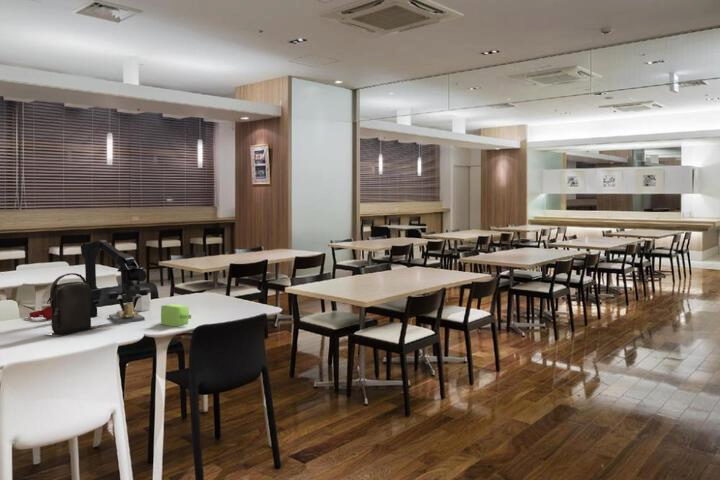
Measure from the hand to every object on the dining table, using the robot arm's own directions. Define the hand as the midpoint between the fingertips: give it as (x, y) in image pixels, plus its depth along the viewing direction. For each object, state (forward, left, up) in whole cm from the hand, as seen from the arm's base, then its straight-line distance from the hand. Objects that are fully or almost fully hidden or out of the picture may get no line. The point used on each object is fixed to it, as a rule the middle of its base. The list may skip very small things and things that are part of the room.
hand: (128, 310), depth 297 cm
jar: (+14, +23, -5) cm, 27 cm away
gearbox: (+17, -24, -6) cm, 30 cm away
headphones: (-31, +36, -6) cm, 48 cm away
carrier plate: (0, +4, -5) cm, 6 cm away
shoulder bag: (-27, -8, -6) cm, 29 cm away
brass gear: (0, 0, -2) cm, 3 cm away
